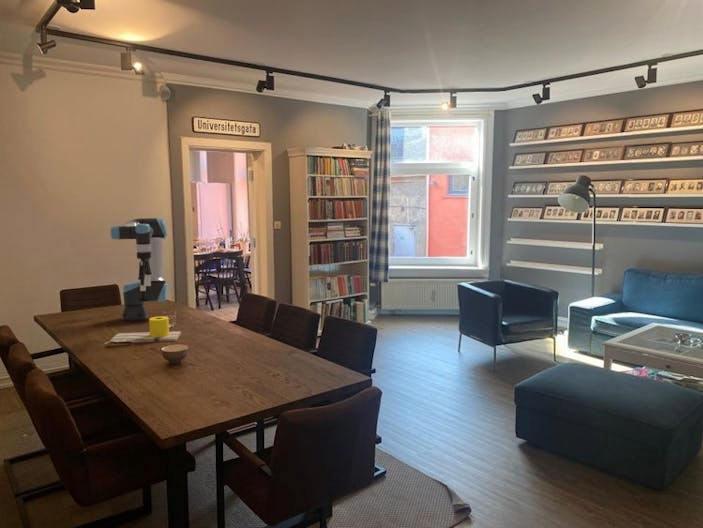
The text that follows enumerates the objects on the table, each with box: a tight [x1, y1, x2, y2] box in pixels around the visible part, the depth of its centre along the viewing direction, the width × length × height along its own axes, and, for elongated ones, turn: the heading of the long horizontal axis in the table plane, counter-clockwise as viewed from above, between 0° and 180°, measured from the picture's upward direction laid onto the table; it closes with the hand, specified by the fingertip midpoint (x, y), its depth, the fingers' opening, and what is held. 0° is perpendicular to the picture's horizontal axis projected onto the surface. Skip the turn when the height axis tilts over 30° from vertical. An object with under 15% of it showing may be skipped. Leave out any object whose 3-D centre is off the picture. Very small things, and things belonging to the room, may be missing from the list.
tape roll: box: [148, 315, 170, 337], centre depth 290 cm, size 10×10×9 cm
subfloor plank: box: [109, 330, 182, 344], centre depth 289 cm, size 16×34×2 cm, turn 98°
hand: (145, 288), depth 298 cm, fingers open, 13 cm apart
